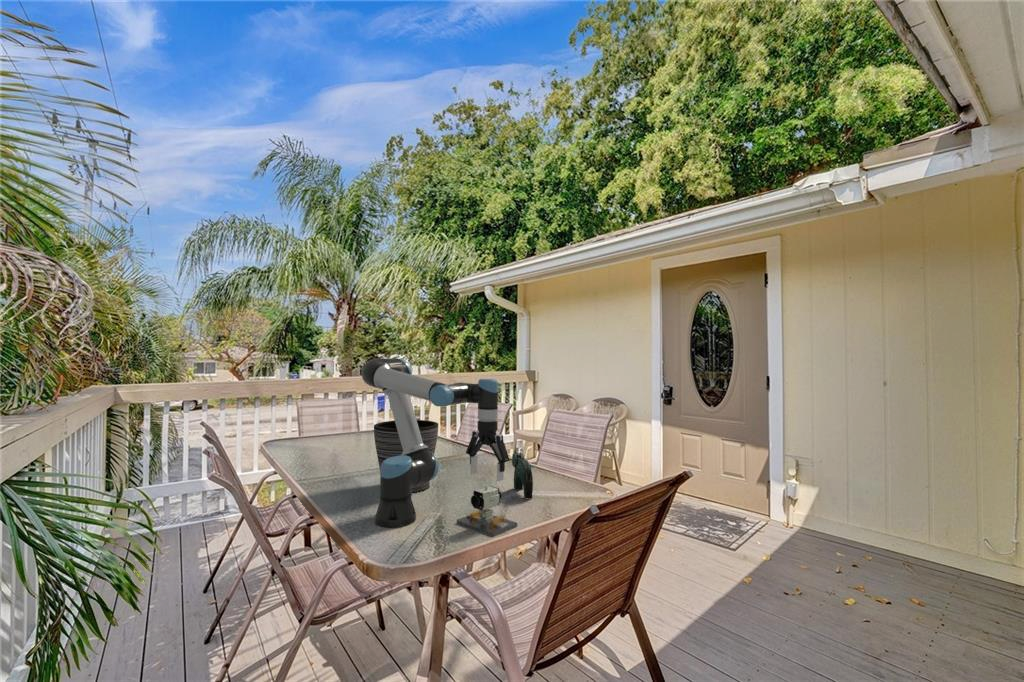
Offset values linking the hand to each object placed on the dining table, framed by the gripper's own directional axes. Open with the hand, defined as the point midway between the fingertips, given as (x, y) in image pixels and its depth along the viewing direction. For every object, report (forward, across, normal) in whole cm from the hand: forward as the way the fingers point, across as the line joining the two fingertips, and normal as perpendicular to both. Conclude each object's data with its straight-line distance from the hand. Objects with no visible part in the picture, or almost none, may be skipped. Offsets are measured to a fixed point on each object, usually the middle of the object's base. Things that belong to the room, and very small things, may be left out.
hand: (486, 476), depth 173 cm
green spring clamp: (+18, +15, -40) cm, 46 cm away
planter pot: (+19, +62, -9) cm, 65 cm away
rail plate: (+18, 0, 0) cm, 18 cm away
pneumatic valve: (+16, 0, 0) cm, 16 cm away
